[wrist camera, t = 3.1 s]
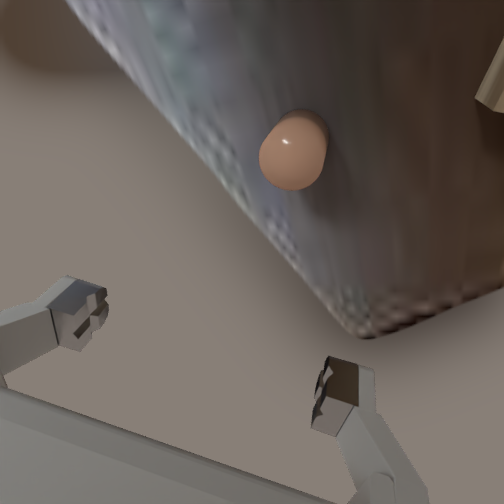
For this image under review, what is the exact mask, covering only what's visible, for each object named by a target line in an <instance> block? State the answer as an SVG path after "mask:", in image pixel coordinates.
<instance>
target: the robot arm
mask: <svg viewBox="0 0 504 504" xmlns="http://www.w3.org/2000/svg"><path fill="white" fill-rule="evenodd" d="M106 297H107V289H106V288H104V287H101V286H98V285H96V284H93V283H90V282H87V281H84V280H80V279H77V278H74V277H71V276H68V275H67V276H63V277H61V278H60V279H59V280H58V281H57V282H56V283H55V284H53V285H52V286H51V287H50V288H49V289H48V290H46V291H45V292H44V293H43V294H42V295H41V296H40V297H38V298H37V299H36V300H35V301H34V302H33V303H30V302H27V303H24V304H21V305H18V306H15V307H11V308H9V309H5V310H2V311H0V504H336V503H333V502H330V501H327V500H325V499H322V498H319V497H316V496H313V495H311V494H308V493H305V492H302V491H299V490H296V489H293V488H291V487H288V486H285V485H282V484H279V483H276V482H273V481H271V480H268V479H265V478H262V477H259V476H256V475H254V474H251V473H248V472H245V471H242V470H239V469H237V468H234V467H231V466H228V465H225V464H222V463H220V462H216V461H214V460H211V459H208V458H205V457H202V456H200V455H197V454H194V453H191V452H188V451H185V450H182V449H180V448H177V447H174V446H171V445H168V444H165V443H163V442H160V441H157V440H154V439H151V438H148V437H146V436H143V435H140V434H137V433H134V432H131V431H128V430H126V429H123V428H120V427H117V426H114V425H111V424H108V423H106V422H103V421H100V420H97V419H94V418H91V417H89V416H86V415H83V414H80V413H77V412H74V411H71V410H68V409H66V408H63V407H60V406H57V405H54V404H51V403H49V402H46V401H43V400H40V399H37V398H34V397H32V396H29V395H26V394H23V393H20V392H17V391H14V390H11V389H9V388H8V386H7V384H6V381H5V379H4V376H3V375H5V374H7V373H9V372H11V371H13V370H15V369H17V368H18V367H20V366H22V365H24V364H26V363H28V362H30V361H32V360H34V359H36V358H38V357H39V356H41V355H43V354H45V353H47V352H49V351H51V350H52V349H54V348H56V347H58V345H59V346H63V347H66V348H69V349H72V350H76V351H79V352H81V351H82V349H83V348H84V347H85V346H86V345H87V343H88V342H89V341H90V340H91V339H92V332H93V331H96V330H98V329H100V328H101V327H102V325H103V324H104V322H105V320H106V318H107V316H108V311H109V305H108V303H107V302H106V301H105V298H106ZM314 399H315V400H316V404H315V406H314V408H313V411H312V422H311V428H312V429H315V430H317V431H320V432H323V433H326V434H328V435H331V436H334V437H336V441H337V443H338V446H339V448H340V450H341V453H342V455H343V458H344V460H345V463H346V465H347V468H348V470H349V473H350V475H351V477H352V480H353V482H354V485H355V487H356V489H357V492H356V493H355V494H354V496H353V497H352V498H351V499H350V501H349V502H348V503H347V504H429V497H428V490H427V487H426V486H425V484H424V482H423V481H422V479H421V478H420V476H419V475H418V473H417V471H416V470H415V468H414V467H413V465H412V463H411V462H410V460H409V459H408V457H407V455H406V454H405V452H404V451H403V449H402V448H401V446H400V444H399V443H398V441H397V440H396V438H395V437H394V435H393V433H392V432H391V430H390V428H389V427H388V425H387V424H386V422H385V421H384V419H383V418H382V416H381V415H380V414H377V413H376V398H375V377H374V370H373V369H371V368H368V367H365V366H361V365H357V364H355V363H351V362H348V361H345V360H341V359H338V358H334V357H331V356H328V357H327V358H326V360H325V364H324V370H321V372H320V374H319V377H318V380H317V383H316V388H315V395H314Z"/></svg>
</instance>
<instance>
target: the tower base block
mask: <svg viewBox="0 0 504 504" xmlns="http://www.w3.org/2000/svg"><path fill="white" fill-rule="evenodd" d="M475 99H477V100H478V101H480V102H481V103H482V104H484V105H485V106H487V107H488V108H490V109H491V110H492V111H496V112H501V113H504V38H503V40H502V42H501V44H500V46H499V48H498V50H497V52H496V55H495V57H494V59H493V61H492V63H491V65H490V67H489V69H488V71H487V73H486V75H485V77H484V79H483V81H482V83H481V85H480V87H479V90H478V92H477V94H476V96H475Z"/></svg>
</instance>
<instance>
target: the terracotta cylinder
mask: <svg viewBox="0 0 504 504" xmlns="http://www.w3.org/2000/svg"><path fill="white" fill-rule="evenodd" d="M328 142H329V132H328V128H327V125H326V123H325V122H324V120H323V119H322V118H321V117H320V116H319V115H318V114H316V113H315V112H313V111H310V110H306V109H297V110H293V111H290V112H288V113H287V114H285V115H284V116H283V117H282V118H281V119H280V120H279V121H278V123H277V124H276V125H275V127H274V128H273V129H272V131H271V132H270V133H269V135H268V136H267V137H266V139H265V140H264V142H263V143H262V145H261V148H260V152H259V164H260V168H261V170H262V173H263V174H264V176H265V177H266V179H267V180H268V181H269V182H270V183H272V184H273V185H275V186H276V187H278V188H281V189H284V190H291V191H293V190H300V189H303V188H306V187H308V186H309V185H311V184H312V183H313V182H314V181H315V180H316V179H317V178H318V176H319V175H320V173H321V171H322V168H323V164H324V159H325V155H326V151H327V147H328Z"/></svg>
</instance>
